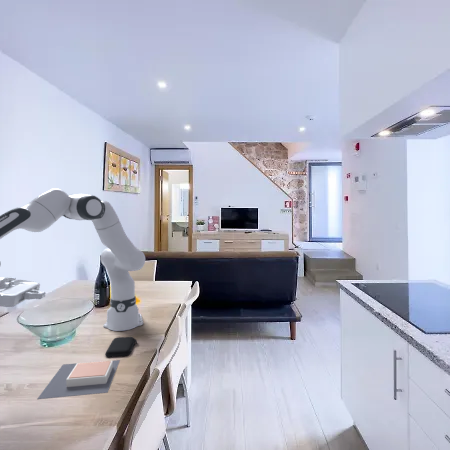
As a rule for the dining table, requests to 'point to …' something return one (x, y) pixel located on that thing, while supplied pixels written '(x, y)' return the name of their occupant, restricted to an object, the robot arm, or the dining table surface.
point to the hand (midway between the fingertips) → (43, 295)
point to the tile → (90, 373)
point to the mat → (61, 390)
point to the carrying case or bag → (121, 347)
